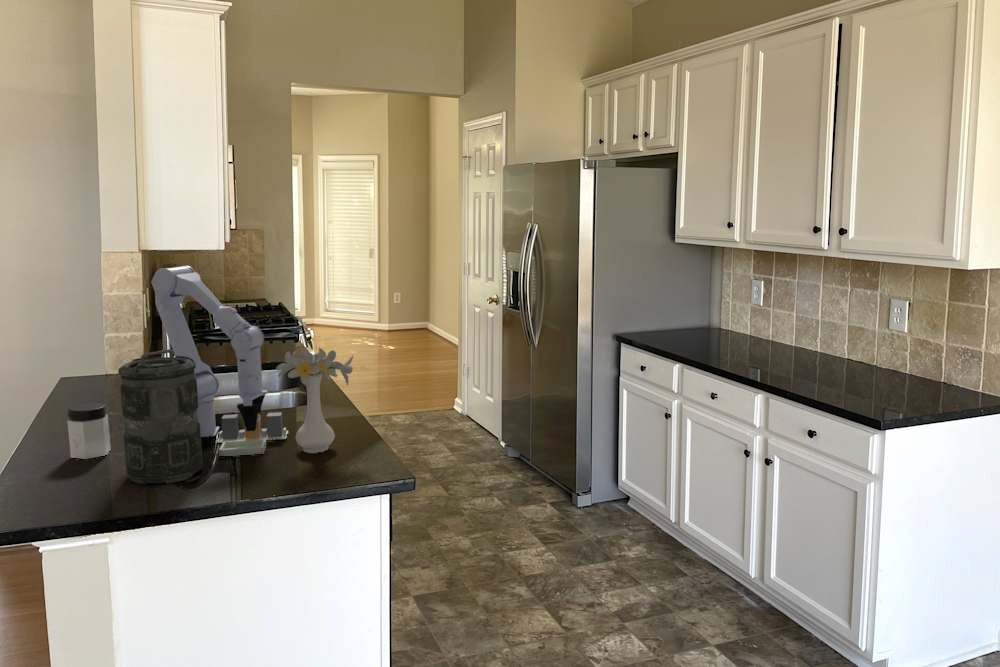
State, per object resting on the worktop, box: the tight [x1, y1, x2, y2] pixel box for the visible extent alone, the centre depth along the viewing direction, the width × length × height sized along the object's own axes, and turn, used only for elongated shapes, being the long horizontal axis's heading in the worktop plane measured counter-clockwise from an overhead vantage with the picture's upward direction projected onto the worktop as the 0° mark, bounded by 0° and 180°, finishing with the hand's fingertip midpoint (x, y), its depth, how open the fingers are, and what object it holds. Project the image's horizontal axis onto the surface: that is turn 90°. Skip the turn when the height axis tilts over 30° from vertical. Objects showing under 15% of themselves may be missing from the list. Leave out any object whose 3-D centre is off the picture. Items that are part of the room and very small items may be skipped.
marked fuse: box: [244, 413, 262, 438], centre depth 209 cm, size 4×4×6 cm
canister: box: [117, 349, 203, 486], centre depth 181 cm, size 16×16×28 cm
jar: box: [66, 402, 112, 459], centre depth 196 cm, size 9×8×12 cm
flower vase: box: [275, 347, 354, 454], centre depth 199 cm, size 13×18×25 cm
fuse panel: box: [216, 411, 289, 444], centre depth 209 cm, size 17×7×6 cm, turn 100°
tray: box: [218, 439, 268, 457], centre depth 199 cm, size 10×7×2 cm
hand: (253, 426), depth 209 cm, fingers open, 7 cm apart
